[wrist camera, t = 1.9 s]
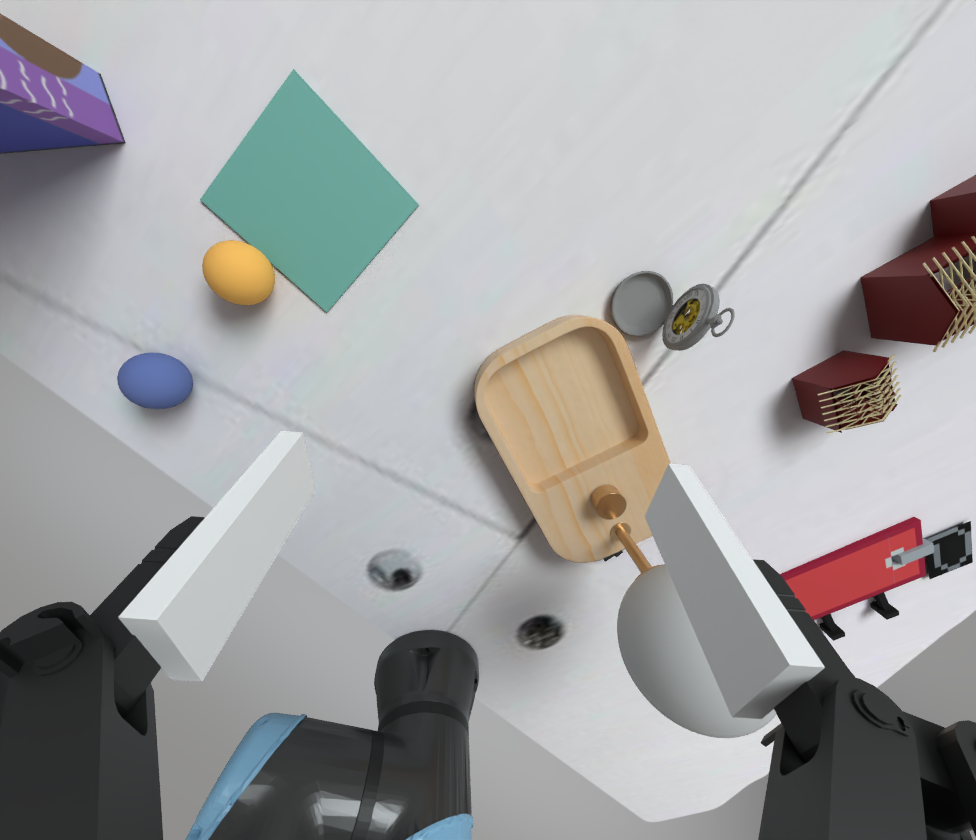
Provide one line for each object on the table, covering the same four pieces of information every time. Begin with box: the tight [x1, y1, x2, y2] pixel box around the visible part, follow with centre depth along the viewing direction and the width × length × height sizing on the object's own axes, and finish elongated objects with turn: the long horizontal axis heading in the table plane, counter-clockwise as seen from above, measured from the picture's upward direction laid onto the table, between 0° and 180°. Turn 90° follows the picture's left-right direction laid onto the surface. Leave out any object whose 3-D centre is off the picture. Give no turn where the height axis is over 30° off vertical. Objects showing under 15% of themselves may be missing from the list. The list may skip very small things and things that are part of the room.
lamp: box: [474, 315, 777, 738], centre depth 34 cm, size 33×17×25 cm, turn 27°
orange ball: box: [202, 240, 275, 305], centre depth 34 cm, size 6×6×6 cm
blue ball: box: [117, 353, 193, 409], centre depth 36 cm, size 6×6×6 cm
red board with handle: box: [780, 517, 973, 641], centre depth 56 cm, size 30×3×15 cm
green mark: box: [200, 69, 418, 312], centre depth 35 cm, size 14×14×1 cm
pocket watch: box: [611, 271, 734, 351], centre depth 36 cm, size 8×8×10 cm
